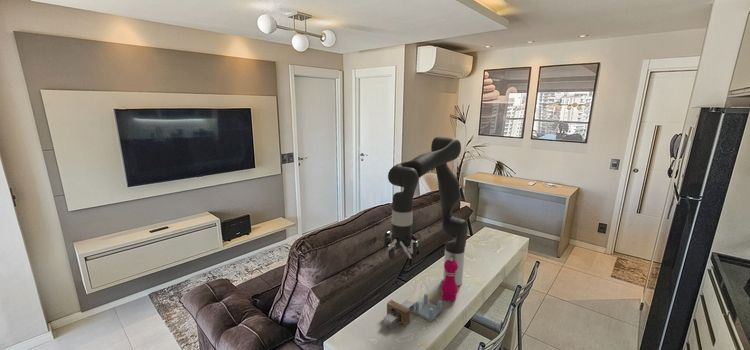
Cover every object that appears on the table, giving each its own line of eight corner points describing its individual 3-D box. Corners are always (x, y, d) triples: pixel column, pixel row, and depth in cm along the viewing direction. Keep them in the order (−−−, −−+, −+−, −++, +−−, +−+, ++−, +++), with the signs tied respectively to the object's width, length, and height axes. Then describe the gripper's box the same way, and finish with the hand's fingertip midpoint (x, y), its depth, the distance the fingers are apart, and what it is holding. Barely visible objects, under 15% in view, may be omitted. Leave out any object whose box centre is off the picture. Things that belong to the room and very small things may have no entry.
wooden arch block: (391, 312, 133) (391, 299, 132) (409, 322, 127) (410, 309, 126) (386, 315, 131) (387, 303, 130) (405, 326, 125) (406, 313, 124)
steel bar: (406, 307, 137) (407, 299, 136) (414, 311, 135) (414, 302, 134) (383, 326, 125) (383, 317, 125) (391, 331, 123) (391, 322, 122)
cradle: (425, 302, 140) (426, 292, 138) (441, 310, 134) (442, 300, 133) (414, 313, 133) (414, 302, 132) (430, 321, 128) (431, 310, 127)
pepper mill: (454, 292, 147) (457, 253, 143) (458, 302, 140) (462, 261, 136) (439, 292, 147) (441, 253, 142) (442, 302, 140) (445, 261, 135)
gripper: (424, 223, 111) (422, 265, 114) (392, 213, 120) (391, 252, 123) (412, 229, 105) (411, 273, 109) (380, 219, 114) (379, 259, 118)
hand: (400, 262), depth 116 cm, fingers open, 8 cm apart
